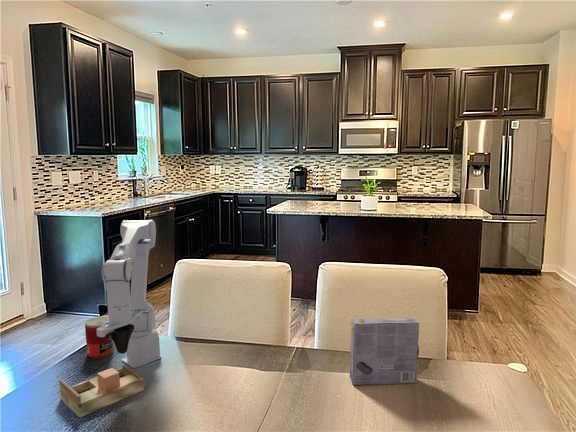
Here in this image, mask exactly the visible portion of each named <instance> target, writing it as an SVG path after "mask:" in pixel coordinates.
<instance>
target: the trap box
mask: <svg viewBox="0 0 576 432" xmlns="http://www.w3.org/2000/svg"><path fill="white" fill-rule="evenodd" d="M115 370H116V371H118V372H119V377H120V387H118V388H115V389H113V390H110V391H108V392H104V391H102V390H101V389H100V388H98V376H95V377H93V378H91V379H88V380H85V381H82V382H79V383H77V384H75V385H71V386H70V385H69V384H68V383H67V382H65V380H63V378H60V379H59V381H58V382H59V383H58V384H59V394H60V400H61V401H62V402H63V403H64V404H65V405H66V406H67V407H68V408H69V409H71V411H73V413H75V415H76V416H77V417H78V418H82V417H84V416H87V415H88V414H91V413H93V412H95V411H98V410H100V409H103V408H105V407H107V406H110V405H112V404H114V403H116V402H120V401H121V400H123V399H126V398H127V397H131V396H133V395H135V394H138V393H140V392H142V391H145V390H147V386H146V378H144V377H143V376H141V375H140V374H138V373H137V372H135V371H134V370H132V369H130V368H129V367H128V366H126V365H124V364H123V365H122V366H121V367H119V368H117V369H115Z"/></svg>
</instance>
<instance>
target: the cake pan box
mask: <svg viewBox="0 0 576 432" xmlns="http://www.w3.org/2000/svg"><path fill="white" fill-rule="evenodd" d="M350 325H351V326H350V327H351V329H350V354H349V355H350V357H349V361H350V363H349V379H350V381H351V383H352V385H353V386H361V385H362V386H363V385H365V386H366V385H367V386H368V385H371V386H372V385H376V386H377V385H378V386H380V385H381V386H386V385H387V386H388V385H396V384H399V385H401V384H417V380H418V358H419V352H420V347H419V335H420V322H419V321H418V320H416V319H415V318H414V317H412V318H410V317H409V318H405V317H404V318H352V319H351V323H350Z"/></svg>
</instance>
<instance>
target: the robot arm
mask: <svg viewBox="0 0 576 432" xmlns="http://www.w3.org/2000/svg"><path fill="white" fill-rule="evenodd" d="M156 225H157V224H156V222H155V220H154V219H147V220H146V219H145V220H144V219H143V220H142V219H141V220H140V219H139V220H126V219H124V220H122V222H121V223H120V229H119V230H120V236H121V239H122V241H121V243H118V244H117V245H116V246H115V248H114V250H113V252H112V254H111V256H110V257H109V259H108V260H106V262H105V261H104V262H103V263H102V266H101V278H102V281H103V288H104V289H105V290H106V301H107V302H106V303H107V314H108V315H107V317H108V318H107V322H106V323H105V324H103V325H102V326H101V327H100V328H98V329H96V330H97V336H98V337H105V336H106V334H109V335H110V337H111V338H112V340H113V345H114V347H115V348H116V349H115V350H116V351H117V354H121V355H123V354H126V356H125V357H123V358H122V359H121V362H123V363H125V364H127V365H128V366H129V367H131V368H132V369H136V368H139V367H141V366H145V365H146V364H149V363H151V362H155V361H157V360H159V359H162V356H161V347H160V346H161V345H160V336H159V333H158V331H157V330H156V329H155V326H156V314H155V307H154V306H153V305H152V304H150V302H148V301H147V287H148V286H147V283H148V268H149V255H150V251H151V250H152V249H153V248H154V247H155V246H156V238H157V237H156V236H157V227H156Z"/></svg>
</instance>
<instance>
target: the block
mask: <svg viewBox="0 0 576 432" xmlns="http://www.w3.org/2000/svg"><path fill="white" fill-rule="evenodd" d="M116 370H117V369H115V368H113V367H111V368H108V369H105V370H101V371H100V372H97V374H96V375H97V377H98V388H100V389H101V390H102V391H104V392H108V391H110V390H113V389H115V388H118V387H120V377H119V372H118V371H116Z"/></svg>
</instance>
